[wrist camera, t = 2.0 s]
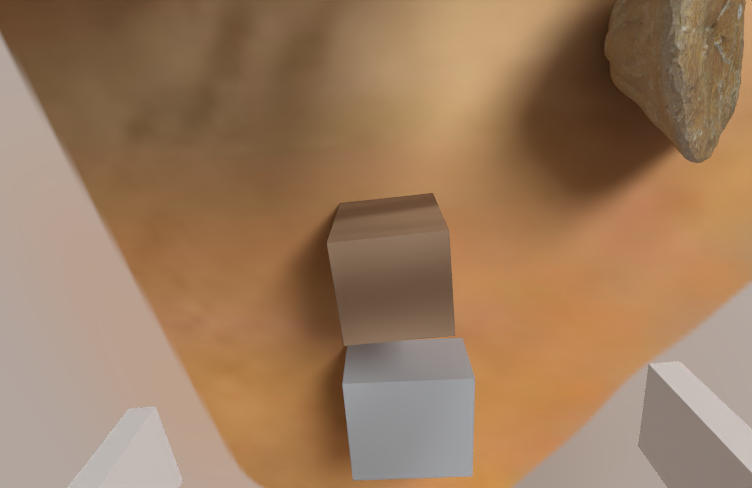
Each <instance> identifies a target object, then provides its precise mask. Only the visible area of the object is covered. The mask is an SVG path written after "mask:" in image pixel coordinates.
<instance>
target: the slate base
mask: <svg viewBox="0 0 752 488" xmlns="http://www.w3.org/2000/svg"><path fill="white" fill-rule="evenodd" d="M342 385H343V394H344V403H345V412H346V421H347V431H348V440H349V449H350V458H351V467H352V476H353V480H380V479H409V478H438V477H466V476H472V470H473V432H474V395H475V377H474V374H473V371H472V367H471V364H470V361H469V358H468V354H467V351H466V348H465V345H464V341H463V338H448V339H426V340H403V341H392V342H381V343H370V344H359V345H348V346H347V352H346V359H345V367H344V375H343V383H342Z"/></svg>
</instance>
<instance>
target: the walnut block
mask: <svg viewBox="0 0 752 488" xmlns="http://www.w3.org/2000/svg"><path fill="white" fill-rule="evenodd" d="M327 248H328V254H329V260H330V266H331V272H332V278H333V284H334V290H335V296H336V302H337V307H338V313H339V319H340V325H341V331H342V337H343V343H344V346H348V345H359V344H370V343H381V342H392V341H403V340H414V339H425V338H436V337H447V336H455V324H454V307H453V289H452V272H451V255H450V238H449V229H448V227H447V224H446V222H445V220H444V218H443V215H442V213H441V211H440V208H439V206H438V204H437V202H436V199H435V197H434V195H433V193H430V194H421V195H412V196H402V197H393V198H384V199H375V200H366V201H356V202H347V203H340V204H339V207H338V210H337V213H336V216H335V219H334V222H333V225H332V228H331V231H330V234H329V237H328V240H327Z"/></svg>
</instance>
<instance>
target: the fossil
mask: <svg viewBox="0 0 752 488" xmlns="http://www.w3.org/2000/svg"><path fill="white" fill-rule="evenodd" d="M745 3H746V2H745V0H616V2H615V3H614V6H613V9H612V11H611V15H610V19H609V22H608V25H609V29H608V33H607V35H606V38H605V44H604V54H605V56H606V58H607V59H608V60H609V62H610V75H611V79H612V81H613V83H614V84H615V86H616V87H617V88H618V89H619V90H620V91H621V92H622V93H623V94H624V95H626V96H627V97H629V98H630V99H631V100H633V101H634V102H635V103H636V104H637V105H638V106H639V107H640V108H641V109H642V110H643V112H644V113H645V114H646V116H647V117H648V118H649V120H650V121H651V122H652V123H653V124H654V125H655V126H656V127H657V128H658V129H659V130H661V131H662V132H663V133H664V134H665V135H666V136H667V137H668V138H669V140H670V141H671V142H672V144H673V145H674V146H675V147H676V148H677V150H678V151H679V152H680V153H681V154H682V155H683V156H684V157H685V158H686V159H687V160H689V161H691V162H696V163H701V162H703V161H704V160H706V159H708V158H709V157H710V156H711V155H712V153H713V150H714V149H715V147H716V146H717V144H718V140H719V137H720V135H721V133H722V131H723V130H724V129H725V127H726V125H727V123H728V122H729V120H730V118H731V117H732V115H733V113H734V109H735V106H736V103H737V99H738V96H739V88H740V84H741V68H742V58H743V48H744V40H743V37H744V10H745Z"/></svg>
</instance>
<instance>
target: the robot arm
mask: <svg viewBox="0 0 752 488" xmlns="http://www.w3.org/2000/svg"><path fill="white" fill-rule="evenodd" d="M638 446H639V448H640V449H641V451H642V452H643V453H644V455H645V456H646V458H647V459H648V460H649V462H650V463H651V465H652V466H653V468H654V469H655V471H656V472H657V473H658V475H659V476H660V477H661V479H662V480H663V482H664V483H665V485H666V486H667V488H752V429H751V428H750V427H749V426H748V425H747V424H746V423H745V422H744V421H742V420H741V419H740V418H739V417H738V416H737V415H736V414H735V413H734V412H733V411H732V410H731V409H730V408H729V407H728V406H726V405H725V404H724V403H723V402H722V401H721V400H720V399H719V398H718V397H717V396H716V395H715V394H714V393H713V392H712V391H711V390H709V389H708V388H707V387H706V386H705V385H704V384H703V383H702V382H701V381H700V380H699V379H698V378H697V377H696V376H695V375H693V374H692V373H691V372H690V371H689V370H688V369H687V368H686V367H685V366H684V365H683V364H682V363H681V362H680V361H676V362H665V363H653V364H649V366H648V374H647V382H646V389H645V398H644V406H643V413H642V421H641V429H640V436H639V444H638ZM182 481H183V480H182V477H181V474H180V471H179V469H178V466H177V464H176V461H175V458H174V455H173V453H172V450H171V447H170V444H169V442H168V439H167V436H166V434H165V431H164V428H163V425H162V422H161V420H160V417H159V414H158V412H157V409H156V407H155V406H153V407H141V408H129V409H128V410H127V411H126V412H125V414H124V415H123V416H122V418H121V419H120V420H119V421H118V423H117V424H116V425H115V427H114V428H113V429H112V431H111V432H110V433H109V434H108V436H107V437H106V438H105V440H104V441H103V442H102V443H101V445H100V446H99V447H98V449H97V450H96V451H95V452H94V454H93V455H92V456H91V458H90V459H89V460H88V462H87V463H86V464H85V465H84V467H83V468H82V469H81V470H80V472H79V473H78V474H77V476H76V477H75V478H74V480H73V481H72V482H71V483H70V485H69V486H68V487H67V488H180V485H181V483H182Z"/></svg>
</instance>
